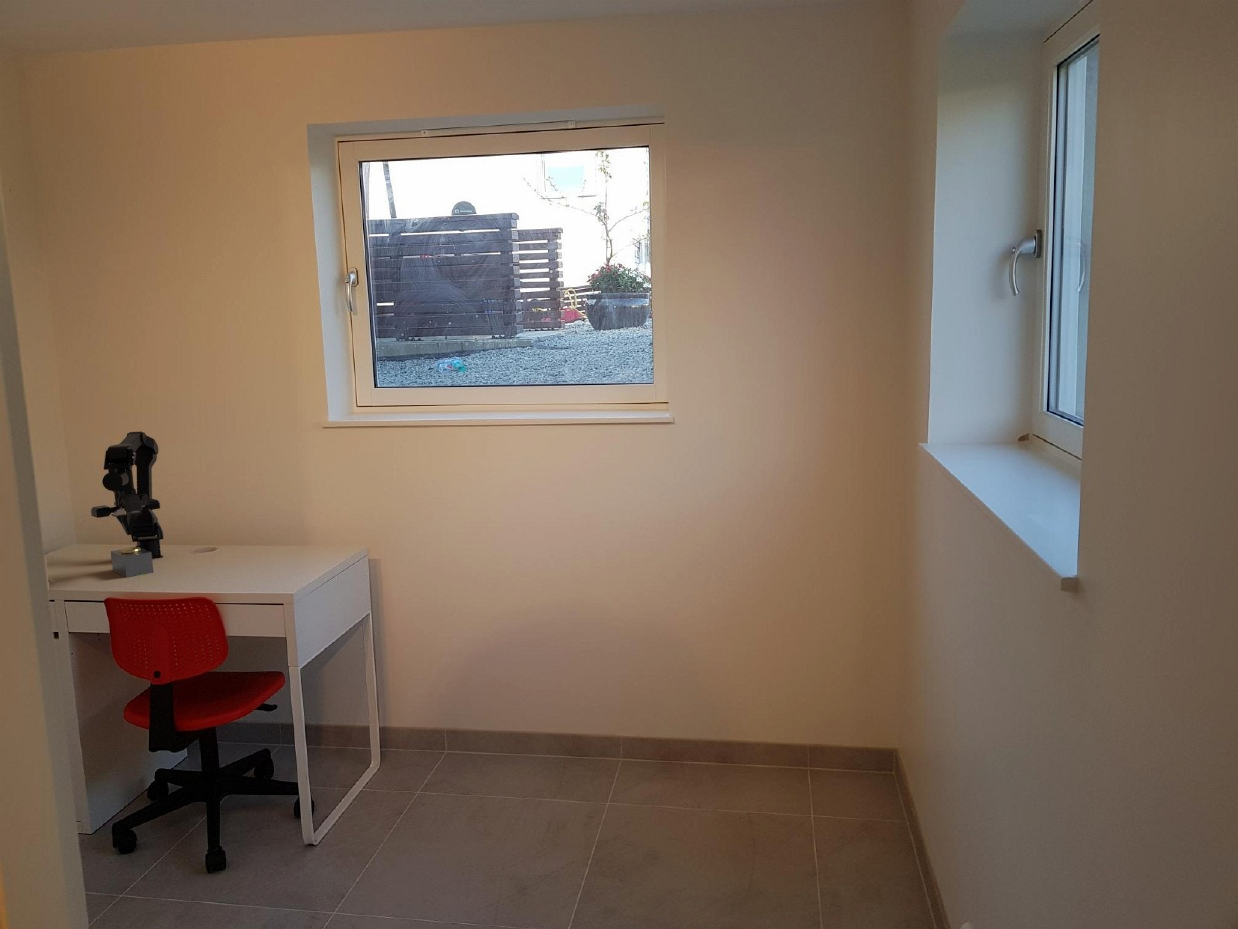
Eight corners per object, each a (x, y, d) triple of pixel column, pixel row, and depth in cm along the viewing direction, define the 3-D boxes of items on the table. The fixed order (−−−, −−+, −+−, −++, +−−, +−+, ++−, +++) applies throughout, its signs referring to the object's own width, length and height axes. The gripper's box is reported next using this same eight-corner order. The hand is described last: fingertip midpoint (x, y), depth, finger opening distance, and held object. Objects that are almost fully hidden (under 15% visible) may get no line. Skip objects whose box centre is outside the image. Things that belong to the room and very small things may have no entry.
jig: (139, 566, 318) (137, 546, 317) (153, 572, 310) (151, 552, 309) (112, 571, 312) (110, 551, 312) (126, 577, 304) (124, 557, 303)
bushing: (138, 567, 315) (136, 546, 314) (145, 569, 311) (143, 548, 310) (120, 570, 311) (118, 549, 310) (126, 573, 307) (124, 552, 306)
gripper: (100, 492, 295) (106, 544, 297) (164, 484, 308) (169, 533, 310) (87, 489, 303) (93, 539, 305) (150, 480, 316) (155, 528, 318)
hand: (128, 535), depth 309 cm, fingers closed
